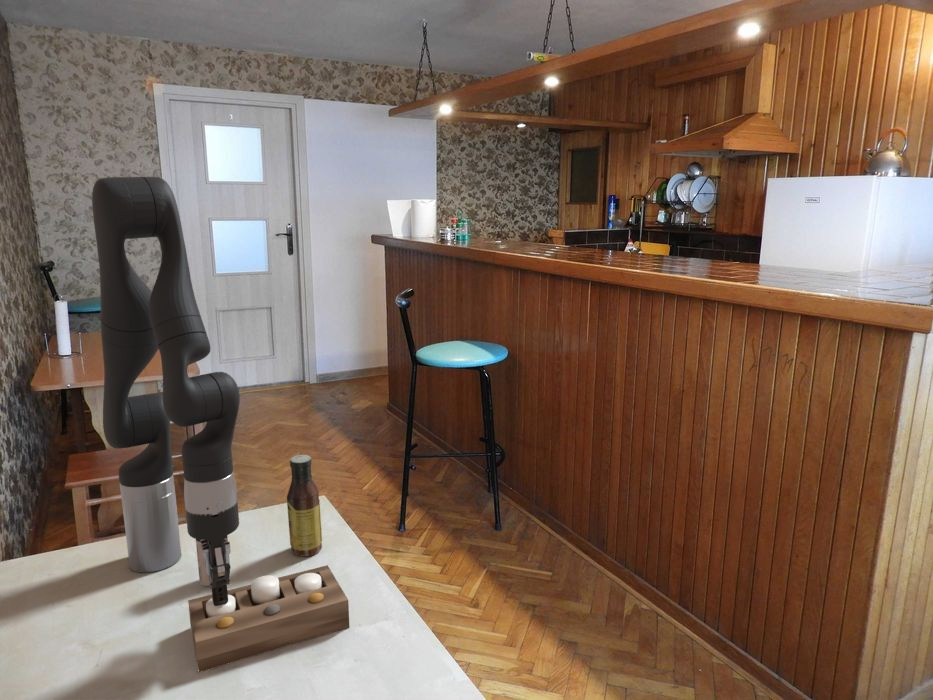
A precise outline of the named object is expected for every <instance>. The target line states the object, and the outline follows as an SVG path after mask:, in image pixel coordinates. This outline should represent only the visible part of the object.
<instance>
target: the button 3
mask: <svg viewBox="0 0 933 700" xmlns="http://www.w3.org/2000/svg"><path fill="white" fill-rule="evenodd" d="M319 588H322V583H321V576H320V575H319V574H316V573H306V574H302V575H300V576H298V577H297V578H296V579H295V593H296V595H297V594H301V593H304V592H308V591H312V590H316V589H319Z"/></svg>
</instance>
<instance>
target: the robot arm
mask: <svg viewBox="0 0 933 700" xmlns="http://www.w3.org/2000/svg"><path fill="white" fill-rule="evenodd" d="M91 196H92V197H91V204H92V205H91V206H92V215H93V224H94V225H93V226H94V232H95V240H96V249H97V250H96V251H97V258H98V266H99V282H100V283H99V285H100V291H99V292H100V334H101V335H100V336H101V345H102V346H101V348H102V358H103V373H104V375H103V377H104V380H103V398H102V402H103V403H102V429H103V433H104V434H103V435H104V437H105V441H106V442H107V444H108V445H109V446H110V447H112V448H113V449H128V448H133V447H140V446H144V445H147V446H146V447H145V448H144V449H143V450H142V451H141V452H139V453H138V454H136V455H134V456H133V457H132V458H131V457H130V459H128V460H126V461H125V462H123V463H122V464H121V465H120V466H119V469H118V481H119V489H120V497H121V498H120V499H121V507H122V514H123V515H122V516H123V522H124V531H125V537H126V539H125V540H126V547H127V557H128V563H129V568H130V569H131V570H133V572H139V573H152V572H158V571H160V570H161V571H162V570H164V569H166V568H170V567H171V566H173V565H175V564H176V563H178V561H180V559H181V558H182V549H181V548H182V547H181V538H180V537H181V535H180V526H179V517H178V508H177V497H176V489H175V488H176V487H175V479H174V477H175V476H174V469H173V456H172V455H173V454H172V441H171V422H172V423H173V424H174V425H175V426H178V427H182V428H183V427H184V428H187V427H191V426H195V425H199V424H202V423H206V424H205V426H204V427H203V429H202V430H200V431H199V432H198V433H196V434H194V435H191V437H189V438H188V439H186V440H185V441H184V442H183V444H182V447H181V457H182V458H181V460H182V469H183V483H184V484H183V498H184V499H183V501H184V507H185V509H184V510H185V517H186V518H185V519H186V528H187V533H188V535H189V537H191V538H193V539H194V540H196V539H198V540H201V548H202V551H203V556H204V563H205V567H206V571H207V574H208V575H209V576H208V577H209V579H210V584H211V587H210V588H211V594H212V600H213V604H214V606H219V605H223V604H226V603H227V602H228V592H227V590H228V585H230V581H231V580H230V575H231V563H230V554H231V553H232V551H231V550H232V549H231V543H230V541H229V538H228V537H229V535H230V534H232V533H234V532H235V531H236V530H237V529H238V527H239V525H240V517H239V505H238V504H239V503H238V492H237V483H236V478H235V477H236V476H235V473H234V463H233V454H232V453H233V450H232V447H233V446H232V445H233V438H234V433H235V429H236V423H237V419H238V414H239V410H240V402H241V401H240V400H241V396H240V389H239V386H238V384H237V382H236V381H235V379H234V378H233V376H232V375H230V374H228V373H227V372H224V371H214V372H213V371H212V372H209V373H205V374H199V375H195V376H189V374H188V368H189V366H190V365H192V364H195V363H197V362H199V361H202V360H203V359H205V358H206V357H207V356H209V354H210V353H211V343H210V340H209V335H208V334H207V330H206V328H205V327H206V326H205V325H204V322H203V319H202V316H201V313H200V310H199V308H198V307H199V306H198V304H197V300H196V296H195V291H194V288H193V284H192V279H191V271H190V267H189V266H190V265H189V260H188V254H187V248H186V243H185V239H184V238H185V237H184V233H183V227H182V222H181V216H180V212H179V207H178V204H177V202H176V197H175V194H174V193H173V190H172V188H171V186H170V185H169V184H168V182H167V181H166V180H165V179H163V178H161V177H158V176H109V177H100V178H98V179H97V180H96V181H95V183H94V184H93V187H92V195H91ZM146 238H147V239H148V238H157V239H158V242H159V246H160V250H161V251H160V252H161V259H160V260H161V261H160V266H159V270H158V273H157V276H156V279H155V283H154V285H153V288H152V290H151V288H150V287H149V286H148V285H147V284H146V283H145V282H144V280H143V279H142V278H141V277H140V275H138V274H137V272H136V271H135V269H134V268H133V266H132V265H131V264H130V262H129V260H128V258H127V254H126V252H125V251H126V250H125V242H126V240H128V239H129V240H134V239H135V240H136V239H146ZM158 351H159V354H160V358H161V369H162V371H161V372H162V394H161V393H158V392H152V393H146V394H140V395H133V396H129V394H130V391H131V388H133V387H132V386H133V385H134V383H135V382H136V381H137V379H138V377H139V376H140V375H141V373H142V372H143V371H144V370H145V369H146V367H148V365H149V364H150V362H151V361H153V358H154V357H155V356H156V354H157V352H158Z"/></svg>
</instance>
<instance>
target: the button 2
mask: <svg viewBox="0 0 933 700" xmlns="http://www.w3.org/2000/svg"><path fill="white" fill-rule="evenodd" d="M278 578H279V577H277V576H275V575H262V576H259V577H257V578H255V579H253V580H252V581H251V583H250V585H251V593H252V603H253V605H259V604H263V603H267V602H271V601H274V600H278V599H280V589H279V579H278Z"/></svg>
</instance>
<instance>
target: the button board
mask: <svg viewBox="0 0 933 700" xmlns="http://www.w3.org/2000/svg"><path fill="white" fill-rule="evenodd" d="M306 573H316V574H319V575H320V576H321V583H322V588H319V589H316V590H312V591H308V592H304V593H301V594H297V595H296V593H295V579H296V578H297V577H298V576H300V575H302V574H306ZM277 578H278V579H279V589H280V599H278V600H274V601H271V602H267V603H263V604H259V605H253V603H252V593H251V584H248V585H247V584H246V585H243V586H240V587H235V588H232V589H227V592H228V595H232V596H233V597H234V598H235V603H236V611H233V612H229V613H225V614H222V615H218V616H214V617H210V618H207V612H206V603H207V602H208V600H210V599H211V598H212V593H211V594H208V595H204V596H201V597H196V598H192V599H188V602H187V603H188V610H189V611H188V613H189V621H190V631H191V634H192V641H193V648H194V654H195V659H196V663H197V664H196V665H197V671H198V670H199V671H198V673H202V672H205V671H208V669H209V670H212V669H215V668H217V667H218V666H219V667H222V666H225V665H228V663H229V664H232V663H235V662H239V661H242V660H244V659H248V658H251V657H255V656H258V655H262V654H265V653H268V652H272V651H275V650H278V649H282V648H284V647H289V646H291V645H295V644H298V643H302V642H305V641H309V640H312V639H315V638H318V637H322V636H325V635H328V634H331V633H335V632H338V631H342V630H344V629H349V628H350V609H349V608H350V607H349V599H348V597H347V596H346V594H345V592H344V590H343V588H342V587H341V585H340V584H339V582H338V580H337V579H336V576H335V575H334V573H333V572H332V570H331V569H330V567H329V565H328V564H327V565H324V566H323V565H322V566H319V567H315V568H312V569H308V570H307V569H306V570H303V571H300V572H296V573H291V574H287V575H284V576H280V577H279V576H278V577H277ZM201 671H202V672H201Z"/></svg>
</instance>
